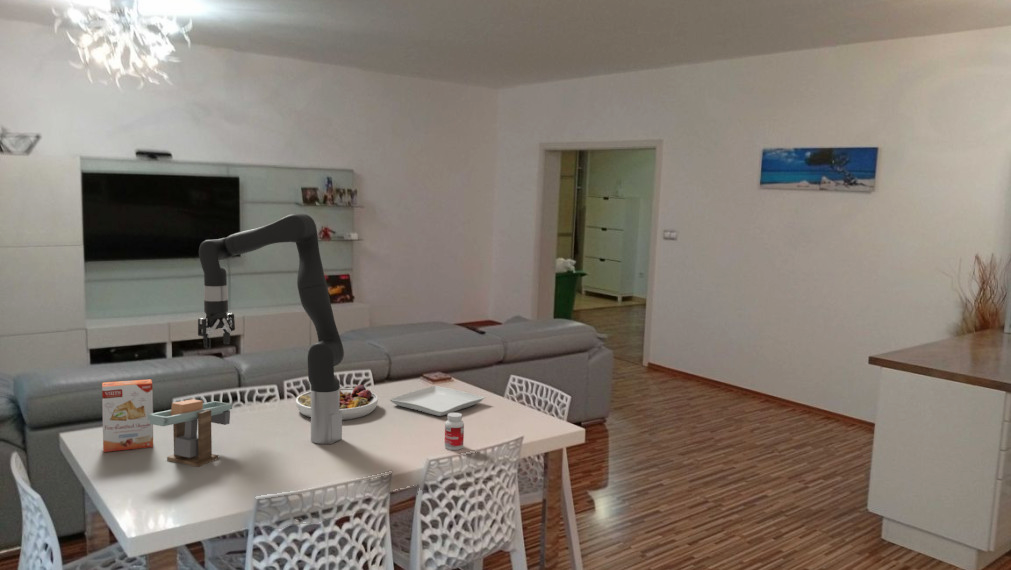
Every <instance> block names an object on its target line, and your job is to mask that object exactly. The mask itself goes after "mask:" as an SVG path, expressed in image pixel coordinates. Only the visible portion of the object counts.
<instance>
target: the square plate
mask: <svg viewBox="0 0 1011 570" xmlns="http://www.w3.org/2000/svg"><path fill="white" fill-rule="evenodd" d="M484 399H486V397H485V396H482V395H479V394H474V393H472V392H467V391H463V390H460V389H459V390H458V389H456V388H449V387H444V386H439V385H431V386H428V387H424V388H420V389H417V390H413V391H410V392H406V393H402V394H400V395H397V396H395V397H391V398H389V401H390V402H391V403H392V404H394V405H396V406H399V407H402V408H403V407H404V408H406V409H411V410H413V409H414V411H417V410H418V411H417V412H421V411H422V413H426V414H430V415H433V416H434V415H435V416H436V417H437V416H439V417H443V416H445V415H446V416H447V415H448V414H449V413H456V412H458V411H460V410H463V409H465V408H469V407H472V406H474V405H477V404H479V403H481V402H482V401H483V400H484Z"/></svg>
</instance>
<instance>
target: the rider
mask: <svg viewBox="0 0 1011 570" xmlns="http://www.w3.org/2000/svg"><path fill="white" fill-rule="evenodd" d="M203 403H204V401H203V400H201V399H200V400H199V399H195V398H192V399H186V400H182V401H175V402H171V408H170V410H171V416H172V415H177V414H182V413H187V412H192V411H197V410H201V409H202V408H203Z"/></svg>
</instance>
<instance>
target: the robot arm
mask: <svg viewBox="0 0 1011 570" xmlns="http://www.w3.org/2000/svg"><path fill="white" fill-rule="evenodd" d="M281 243H295V245H296V248H297V253H298V258H299V261H298V263H299V265H298V271H297V277H296V278H297V280H296V283H297V284H296V285H297V291H298V295H299V299H300V304H301V306H302V308H303V309H304V311H305V313H306V314H307V316H308V317H309V318H310V320H311V322H312V323H313V325H314V328H315V331H316V335H317V339H318V342H315V343H314V344H312V345H311V346H310V348H309V349H308V351H307V374H308V375H307V377H308V382H309V383H310V391H311V418H310V441H311V443H314V444H319V445H321V444H324V445H326V444H327V445H333V444H334V443H336V442H338V441H340V440H342V439H343V420H342V411H340V388H341V385H340V384H341V382H340V380H339V379H338V378H337V377H335V367H336V366H338V365H339V364H340V363H341V362H342V361H343V360H344V355H345V351H344V346H343V343H342V340H341V337H340V334H339V333H340V332H339V331H338V328H337V325H336V322H335V321H336V320H335V317H334V312H333V308H332V302H331V298H330V293H329V289H328V284H327V280H326V277H325V272H324V267H323V263H322V259H321V252H320V245H319V238H318V230H317V225H316V222H315V220H314V218H312V217H311V216H310V215H308V214H305V213H292V214H291V213H290V214H288V215H285V216H284V217H282V218H279V219H278V220H276V221H274V222H271V223H268V224H266V225H264V226H260V227H257V228H253V229H248V230H243V231H238V232H235V233H232V234H230V235H228V236H227V237H222V238H218V239H217V238H216V239H215V238H214V239H205V240H204V241H202V242H201V243H200V245H199V249H198V258H199V260H200V261H199V262H200V265H201V268H202V271H203V279H204V280H203V281H204V283H203V284H204V289H203V309H204V310H203V312H204V314H205V315H206V316H205V318H203V317H198V319H197V335H198V336H199V337H202V338H203V340H202V341H203V348H204V349H211V348H212V341H211V340H212V337H211V336H212V334H213V332H215V331H216V330H218V329H221V331H222V332H223V333H222V336H223V337H222V338H223V344H224V345H230V343H231V334H232V332H233V331H235V330H236V326H235V325H236V324H235V323H236V322H235V314H234V313H232V312H231V313H229V293H228V292H229V291H228V286H227V285H228V283H227V282H228V281H227V279H228V278H227V277H228V276H227V270H226V269H225V268H223V267H221V265H220V261H222V260H226V259H229V258H232V257H235V256H237V255H243V254H247V253H251V252H254V251H257V250H260V249H261V248H264V247H266V246H270V245H273V244H274V245H275V244H281Z"/></svg>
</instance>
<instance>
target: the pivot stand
mask: <svg viewBox="0 0 1011 570" xmlns="http://www.w3.org/2000/svg"><path fill="white" fill-rule="evenodd" d="M172 426H173V448H174V447H175V438H176V437H181V436H184V435H185V422H181V423H177V424H172ZM197 435H198V456H194V457H190V458H188V457H184V456H179V455H174V454H171V455H169V456H167V457H166V459H167V461H168V460H169V462H175V463H177V464H178V463H179V464H184V465H187V466H191V467H192V466H193V467H198V468H199V467H201V466H203V465H206V464H208V463H210V462H211V463H212V462H213V461H216V460H218V459H219V455H218V454H213V452H212V451H213V447H212V439H213V438H212V422H211V410H205V411H202V412H199V413H198V423H197ZM215 459H216V460H215Z"/></svg>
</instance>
